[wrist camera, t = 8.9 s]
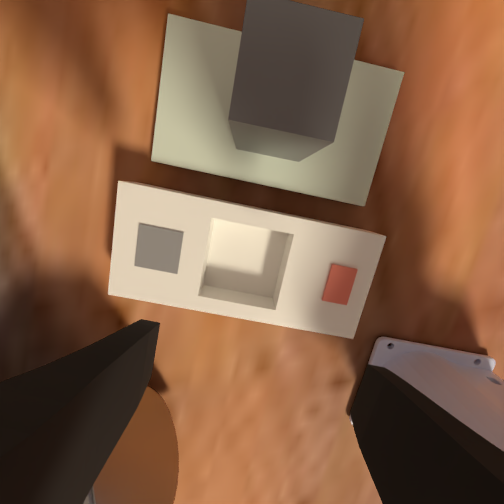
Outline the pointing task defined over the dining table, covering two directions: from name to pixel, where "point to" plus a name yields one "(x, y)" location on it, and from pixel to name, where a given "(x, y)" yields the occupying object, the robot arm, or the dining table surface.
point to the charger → (291, 77)
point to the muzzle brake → (141, 459)
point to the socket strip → (240, 260)
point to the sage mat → (219, 132)
